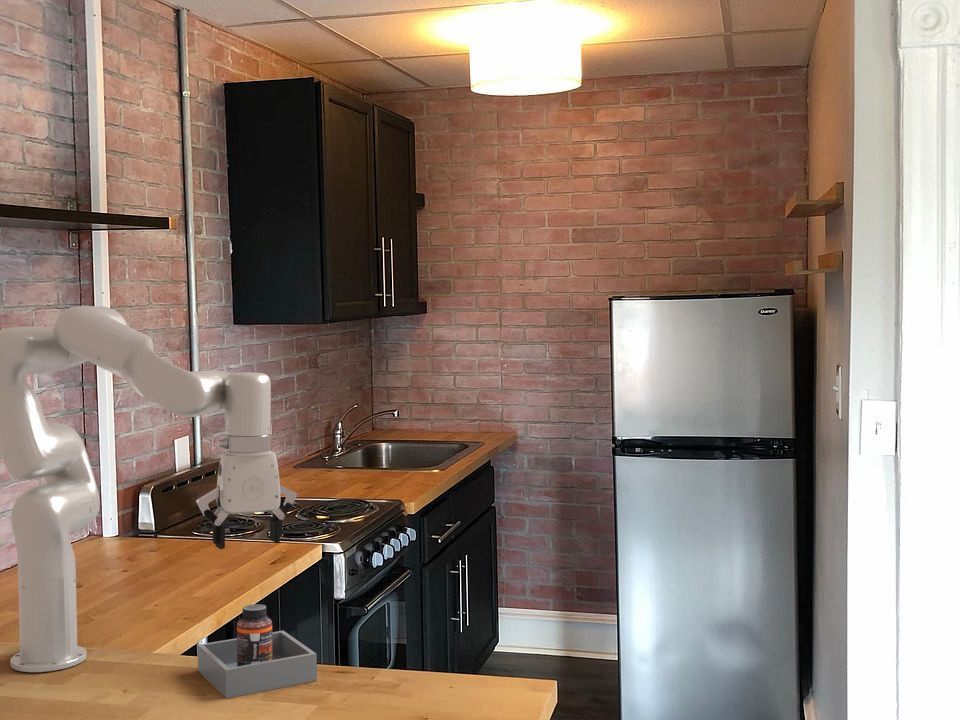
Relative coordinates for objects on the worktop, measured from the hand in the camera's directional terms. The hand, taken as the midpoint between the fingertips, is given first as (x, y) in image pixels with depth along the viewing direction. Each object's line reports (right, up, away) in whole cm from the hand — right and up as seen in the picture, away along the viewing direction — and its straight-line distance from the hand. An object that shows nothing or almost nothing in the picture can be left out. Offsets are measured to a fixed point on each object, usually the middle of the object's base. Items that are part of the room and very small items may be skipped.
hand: (247, 544), depth 177 cm
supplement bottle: (+1, -22, 0) cm, 22 cm away
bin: (+2, -23, 0) cm, 23 cm away
